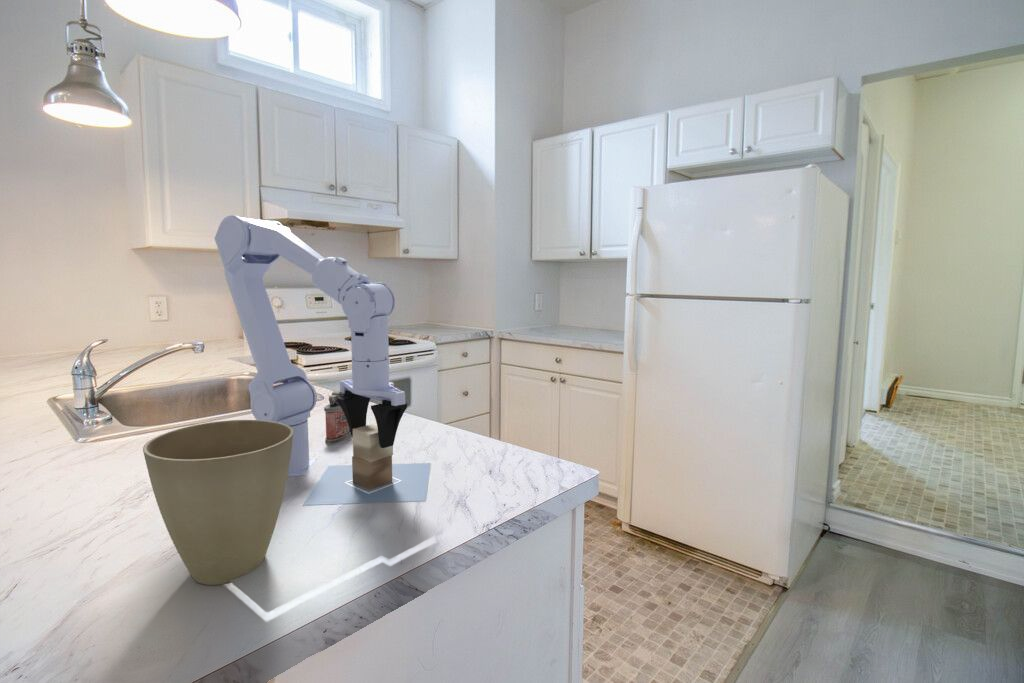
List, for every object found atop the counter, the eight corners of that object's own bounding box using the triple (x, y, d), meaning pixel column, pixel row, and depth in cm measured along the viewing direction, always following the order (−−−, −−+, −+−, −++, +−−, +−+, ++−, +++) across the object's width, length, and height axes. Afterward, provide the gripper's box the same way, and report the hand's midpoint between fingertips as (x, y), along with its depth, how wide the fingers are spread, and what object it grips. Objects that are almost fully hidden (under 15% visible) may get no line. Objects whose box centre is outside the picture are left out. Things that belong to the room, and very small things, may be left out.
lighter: (336, 444, 105) (335, 396, 104) (321, 443, 106) (319, 395, 105) (356, 433, 113) (354, 388, 112) (341, 431, 114) (340, 387, 113)
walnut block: (369, 490, 82) (368, 462, 81) (352, 482, 85) (352, 456, 84) (392, 481, 85) (391, 455, 85) (375, 474, 88) (375, 449, 88)
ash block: (370, 462, 82) (369, 434, 81) (353, 455, 84) (352, 429, 84) (393, 454, 85) (392, 428, 84) (376, 448, 88) (375, 423, 87)
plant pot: (180, 627, 51) (169, 471, 49) (136, 570, 60) (125, 437, 58) (321, 564, 62) (317, 435, 60) (265, 524, 72) (260, 412, 70)
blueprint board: (302, 509, 76) (302, 504, 76) (328, 469, 92) (328, 465, 92) (425, 504, 78) (425, 500, 78) (430, 466, 94) (430, 462, 94)
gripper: (419, 361, 81) (420, 444, 83) (364, 351, 90) (366, 427, 92) (383, 366, 76) (384, 456, 77) (327, 356, 85) (330, 436, 86)
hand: (372, 441), depth 84 cm, fingers open, 7 cm apart
